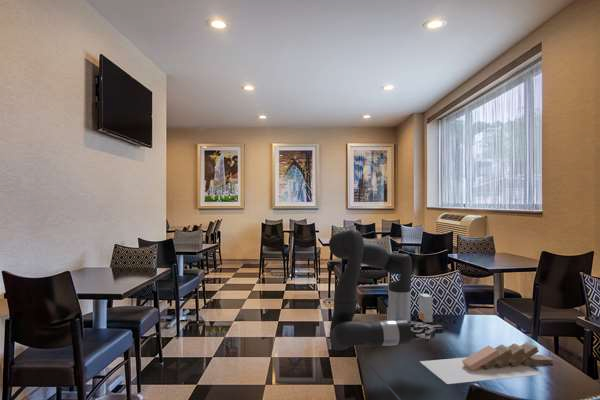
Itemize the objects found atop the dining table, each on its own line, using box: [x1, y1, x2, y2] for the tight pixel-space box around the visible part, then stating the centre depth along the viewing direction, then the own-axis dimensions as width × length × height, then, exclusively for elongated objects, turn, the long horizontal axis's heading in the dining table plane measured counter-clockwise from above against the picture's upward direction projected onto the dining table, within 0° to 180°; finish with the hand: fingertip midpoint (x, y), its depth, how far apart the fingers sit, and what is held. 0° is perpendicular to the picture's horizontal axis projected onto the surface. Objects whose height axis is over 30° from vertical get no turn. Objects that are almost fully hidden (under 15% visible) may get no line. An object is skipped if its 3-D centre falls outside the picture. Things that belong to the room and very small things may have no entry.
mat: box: [419, 356, 543, 385], centre depth 119 cm, size 34×16×1 cm, turn 101°
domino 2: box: [494, 343, 525, 369], centre depth 121 cm, size 2×4×11 cm
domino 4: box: [520, 354, 554, 367], centre depth 123 cm, size 2×4×11 cm
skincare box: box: [418, 293, 434, 323], centre depth 170 cm, size 6×4×12 cm
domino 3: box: [508, 341, 540, 367], centre depth 122 cm, size 2×4×11 cm
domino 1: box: [480, 344, 512, 370], centre depth 120 cm, size 2×4×11 cm
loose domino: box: [462, 345, 499, 371], centre depth 119 cm, size 2×4×11 cm
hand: (442, 328), depth 116 cm, fingers closed
